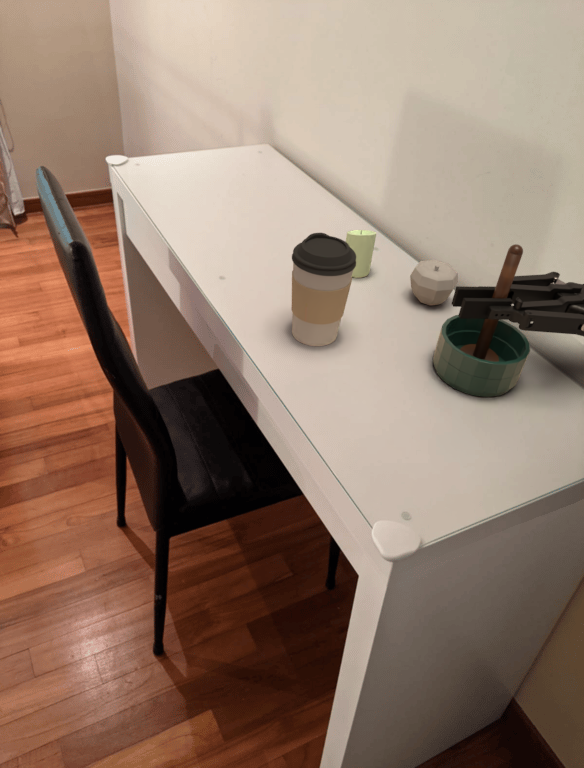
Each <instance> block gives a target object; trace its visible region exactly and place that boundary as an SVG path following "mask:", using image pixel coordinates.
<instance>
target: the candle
mask: <svg viewBox="0 0 584 768" xmlns="http://www.w3.org/2000/svg"><path fill="white" fill-rule="evenodd" d="M376 238H377V232H376V231H373V230H368V229H367V230H366V229H354V230H352V229H351V230H348V231H347V232H346V236H345V242H346V243H347V244H348V245H349V246H350V248H351V249H353V251H354V252H355V254H356V267H355V268H354V269H353V273H352V278H356V279H361V278H365V277H368V276H369V274H370V270H371V264H372V260H373V254H374V249H375V243H376Z"/></svg>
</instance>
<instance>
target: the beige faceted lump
mask: <svg viewBox="0 0 584 768" xmlns="http://www.w3.org/2000/svg"><path fill="white" fill-rule="evenodd" d="M458 274H459V273H458V272H457V271H456V269H454V267H453V266H452V265H450V264H449V263H447V262H444V261H440V260H437V259H426V260H420V261H419V262H418V263H417V265H416V266H415V267H414V269H412V271H411V273H410V276H409V278H410V279H409V280H410V288H411V291H412V293H413V296H414V297H416V299H417V300H418V301H419V302H420V303H421V304H425V305H426V306H439V305H441V304H443V303H445V302H446V300H448V298H449V297H450V296H451V294H452V292H453V291H454V290H455V288H456V286H457V284H458V283H459V276H458Z"/></svg>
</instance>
